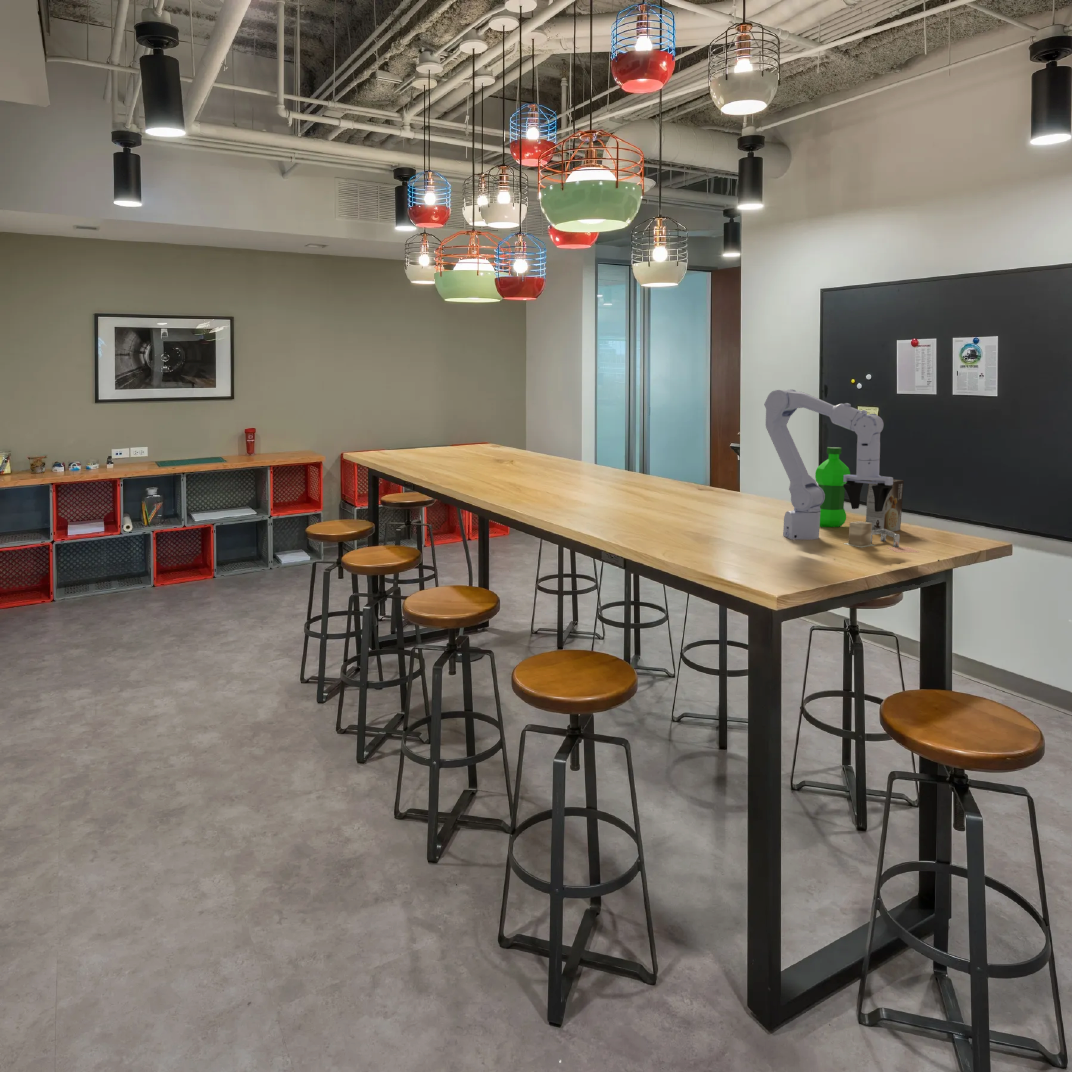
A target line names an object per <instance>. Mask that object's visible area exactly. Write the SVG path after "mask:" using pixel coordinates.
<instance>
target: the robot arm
mask: <svg viewBox="0 0 1072 1072" xmlns="http://www.w3.org/2000/svg"><path fill="white" fill-rule="evenodd" d="M764 407H765V429H766V431H767V432H768V435H769V437H770V440H771V442H772V443H773V446H774V448H775V451H776V453H777V455H778V457H779V460H780V461H781V463H782V467H783V468H784V471H785V472H786V475H787V477H788V479H789V482H790V483H789V486H788V491H789V492H790V493H789V494H790V502H791V505H792V507H793V509H792V510H787V511H786V512H785V513H784V516H783V517H784V518H783V530H782V531H783V532H782V533H783V534H782V535H783V537H785V538H786V539H790V540H818V539H820V528H821V527H820V511H821V509H820V505H821V504H822V503H823V502H824V500H825V494H824V491H823V490H822V488H820V487H819V484H818V483H817V482H816V479H815V478H814V477H812V476H811V475H810V473H809V472H808V470H807V468H806V465H805V464H804V461H803V459H802V457H801V455H800V452H799V450H798V448H797V446H796V444H795V442H794V439H793V437H792V435H791V433H790V431H789V429H788V426H787V425H788V422H789V420H790V418H791V417H792V416H793V414H794V413H795V412H796V411H797V410H798V409H802V408H803V409H807V410H809V411H812V412H814V413H818V414H821V415H822V416H823V415H824V416H826V417H829V420H830V422H831V423H832V424H834V425H837V426H839V427H840V428H841V427H842V428H844V429H847V430H849V431H852V432H854V433H855V434H856V437H857V439H856V441H857V443H856V471H855V472H856V473H855V474H850V475H849V474H848V475H844V478H843V482H847V483H846V484H843V487H844V488H845V493H847V496H848V499H849V503H850V505H851V509H852V510H856V509H859V508H860V504H861V493H862V488H863V485H864V484H868V483H870V484H878V485H873V486H872V489H873V493H874V499H875V512H879V511H882V510H883V506H884V503H885V500H886V498H887V496H888V494H889V492H890V491H891V489H892V485H893V479H894V477H892V476H883V475H880V464H881V463H880V459H881V457H880V455H881V432H882V431H883V429H884V425H885V424H884V420H883V419H882V417H880V416H879V415H877V414H876V413H869V414H867V413H868V411H867V410H865V409H862V410H860V409H857V408H855V407H852V405H851V403H848V402H845V403H839V404H836V405H834V404H832V403H829V402H827V401H825V400H823V399H820V398H818V397H815V396H813V395H811V394H808V393H805V392H802V391H798V390H795V389H775V390H772V391H771V392H770V393H769V394H768V395H767V397H766V400H765V402H764ZM871 481H872V482H871ZM875 481H876V482H875Z"/></svg>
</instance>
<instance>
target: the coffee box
mask: <svg viewBox="0 0 1072 1072" xmlns="http://www.w3.org/2000/svg"><path fill="white" fill-rule="evenodd" d="M870 481H871V482H872V480H870ZM875 482H876V481H875ZM904 483H905V480H904V479H894V478H893V485H892V489H891V491H890V492H889V494H888V496H887V498H886V500H885V503H884V506H883V510H882V511H879V512H875V499H874V493H873V489H872V486H873V485H878V484H870V483H867V494H866V496H867V498H866V510H865V511H866V513H865V522H868V523H872V529H871V530H879V529H887V530H889V531H891V532H896V531H901V527H902V525H901V524H902V512H903V511H902V509H903V497H904V496H903V495H904Z"/></svg>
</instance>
